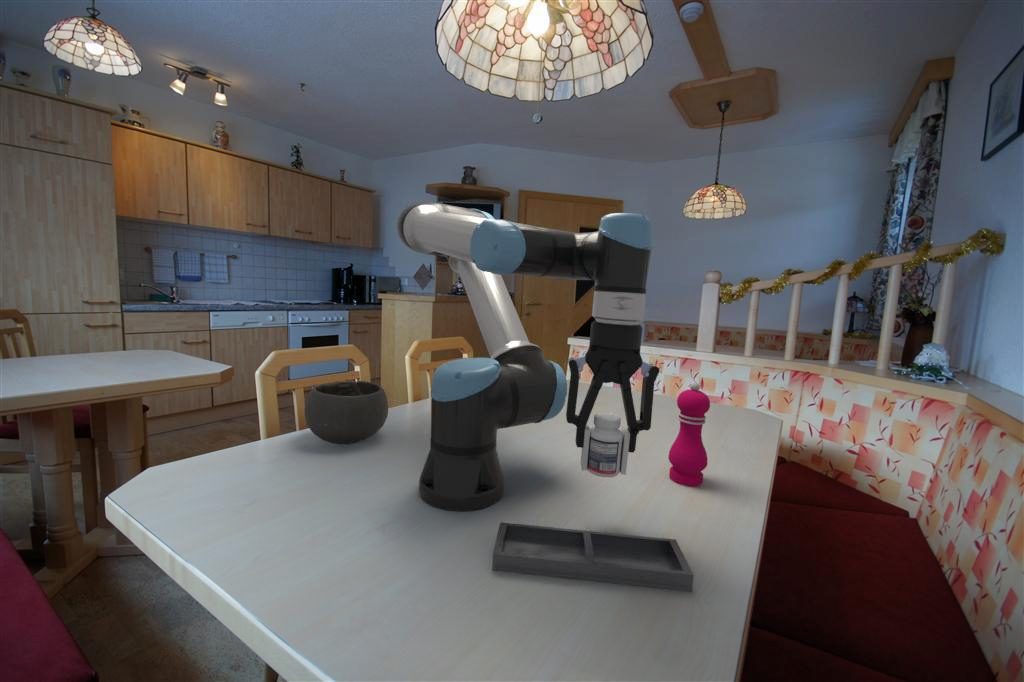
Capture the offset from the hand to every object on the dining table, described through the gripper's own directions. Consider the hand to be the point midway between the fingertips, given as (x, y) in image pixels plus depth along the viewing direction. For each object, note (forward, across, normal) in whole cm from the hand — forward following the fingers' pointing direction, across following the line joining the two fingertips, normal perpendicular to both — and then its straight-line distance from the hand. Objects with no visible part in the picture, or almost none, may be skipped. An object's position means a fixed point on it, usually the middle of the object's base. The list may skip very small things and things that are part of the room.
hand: (602, 468), depth 66 cm
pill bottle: (+1, 0, 0) cm, 1 cm away
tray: (+9, -2, -11) cm, 14 cm away
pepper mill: (+9, +20, +19) cm, 29 cm away
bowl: (+11, -54, +25) cm, 61 cm away
